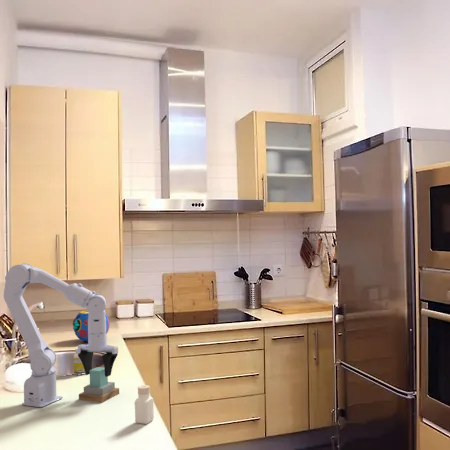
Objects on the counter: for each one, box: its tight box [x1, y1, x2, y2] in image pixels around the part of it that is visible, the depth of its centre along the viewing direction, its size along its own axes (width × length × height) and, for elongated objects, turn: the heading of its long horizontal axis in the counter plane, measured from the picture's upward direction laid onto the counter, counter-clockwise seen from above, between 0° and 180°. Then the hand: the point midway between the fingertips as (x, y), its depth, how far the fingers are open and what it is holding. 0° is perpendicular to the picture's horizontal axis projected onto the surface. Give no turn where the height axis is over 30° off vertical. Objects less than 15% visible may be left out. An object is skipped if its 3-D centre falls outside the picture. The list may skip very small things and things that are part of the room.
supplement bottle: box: [73, 346, 86, 376], centre depth 185 cm, size 5×5×10 cm
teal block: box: [89, 366, 109, 387], centre depth 157 cm, size 4×4×5 cm
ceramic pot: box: [72, 310, 110, 343], centre depth 246 cm, size 18×18×15 cm
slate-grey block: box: [83, 381, 116, 395], centre depth 157 cm, size 7×7×2 cm
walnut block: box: [78, 387, 120, 404], centre depth 156 cm, size 9×9×2 cm
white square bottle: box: [134, 384, 155, 425], centre depth 134 cm, size 4×4×10 cm
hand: (98, 374), depth 157 cm, fingers open, 7 cm apart
